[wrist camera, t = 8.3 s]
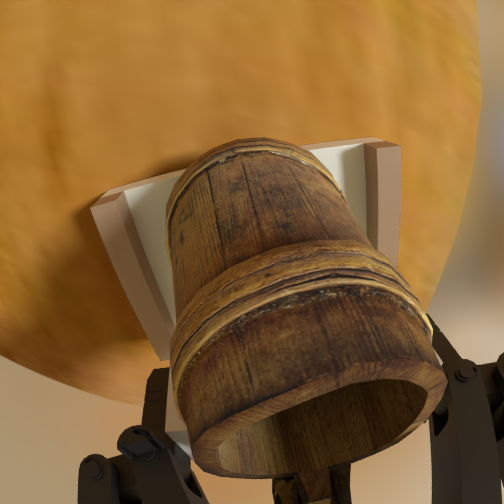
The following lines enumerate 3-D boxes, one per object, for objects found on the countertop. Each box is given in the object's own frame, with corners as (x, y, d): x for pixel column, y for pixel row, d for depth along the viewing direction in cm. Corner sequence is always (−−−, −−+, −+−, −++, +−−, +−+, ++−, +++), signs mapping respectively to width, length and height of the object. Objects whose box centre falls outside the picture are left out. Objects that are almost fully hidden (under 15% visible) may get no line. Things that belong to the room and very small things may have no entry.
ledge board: (108, 190, 16) (89, 208, 13) (373, 137, 16) (400, 146, 14) (164, 330, 21) (160, 360, 19) (374, 285, 22) (391, 309, 19)
